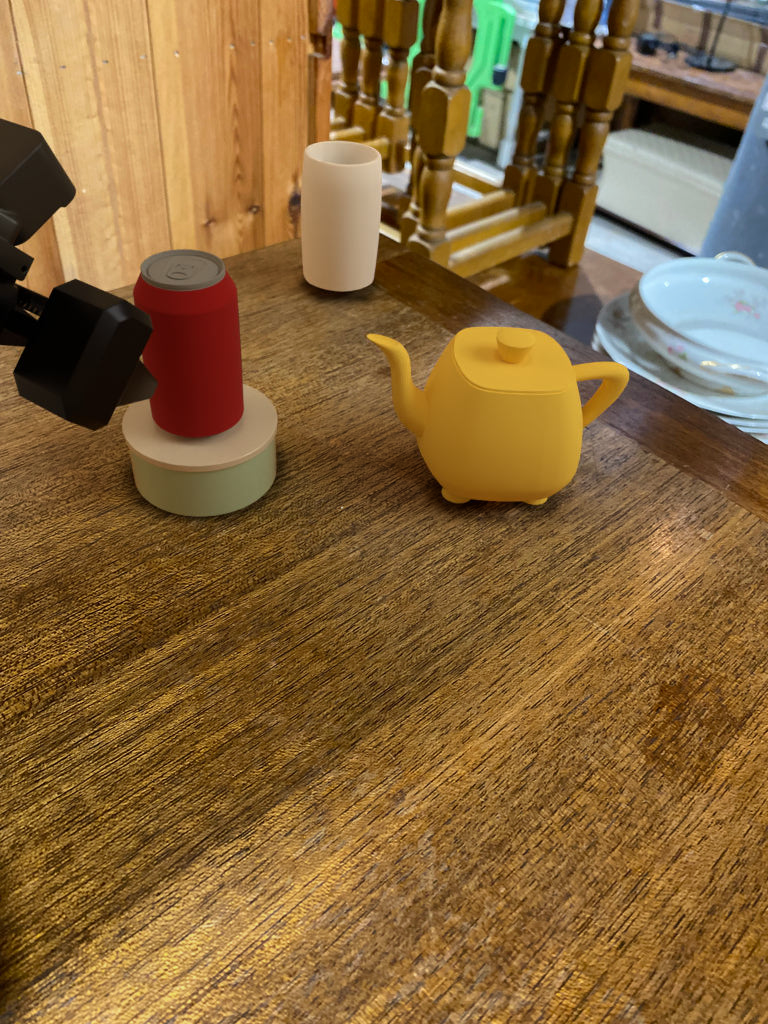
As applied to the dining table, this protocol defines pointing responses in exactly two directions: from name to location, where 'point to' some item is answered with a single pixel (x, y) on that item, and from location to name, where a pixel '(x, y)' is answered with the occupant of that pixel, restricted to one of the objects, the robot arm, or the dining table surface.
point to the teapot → (500, 412)
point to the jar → (204, 460)
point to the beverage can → (192, 342)
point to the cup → (340, 214)
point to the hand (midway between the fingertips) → (98, 363)
